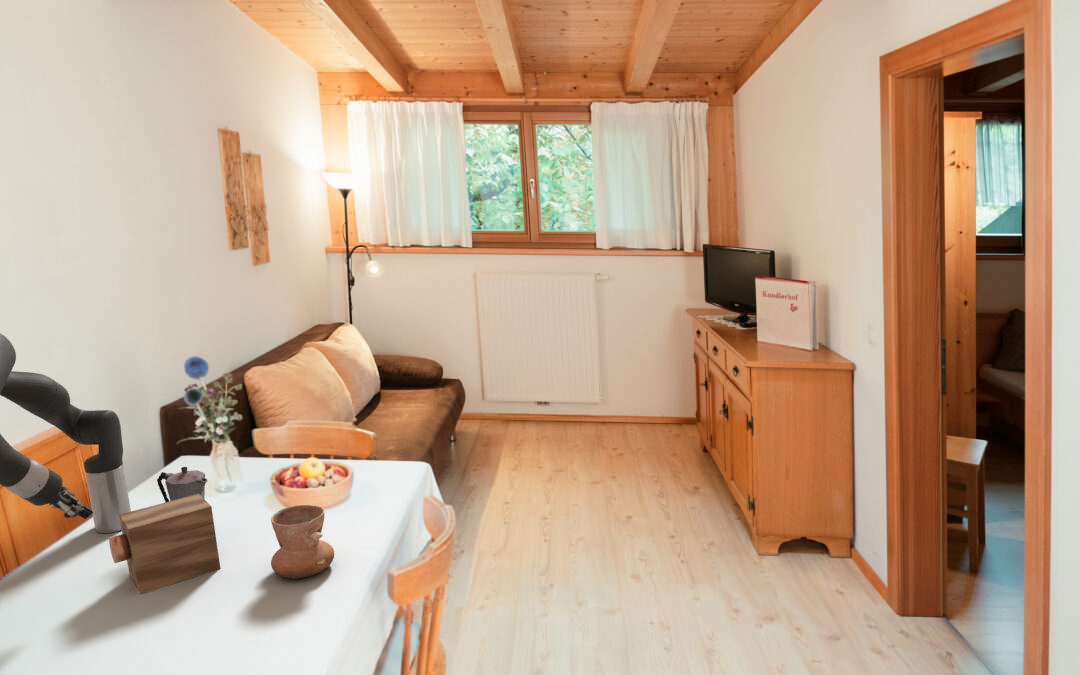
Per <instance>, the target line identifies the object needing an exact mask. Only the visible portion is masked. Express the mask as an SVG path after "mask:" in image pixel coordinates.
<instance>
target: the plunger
mask: <svg viewBox="0 0 1080 675" xmlns="http://www.w3.org/2000/svg"><path fill="white" fill-rule="evenodd" d="M108 543H109V549H110V553H111V557H112V560H113V563H114V564H117V563H122V562H125V561H127V560H129V559H130V549H129V543H128V541H127V539H126V536H125V534H122V533H121V534H117V535H114V536H111V537H108Z"/></svg>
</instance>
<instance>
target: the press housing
mask: <svg viewBox="0 0 1080 675" xmlns="http://www.w3.org/2000/svg"><path fill="white" fill-rule="evenodd" d="M212 507H213V506H212V505H211V504H210V503H209V502H208V501H207V500H206V499H205V497H204V498H203V497H202V496H201V495H200V494H195V495H192V496H188V497H184V498H180V499H177V500H173V501H170V500H169V502H165V501H164V502H163V503H159V504H154V505H151V506H148V507H142V508H140V509H136V510H132V511H131V512H128V513H124V514H120V515H119V517H120V523H121V529H122V530H121V534H125V536H126V539H127V541H128V543H129V549H130V559H129V560H126V562H127V563H126V564H127V568H128V575H129V579H130V580H131V582H132V584H133V586H134V587H135V588H136V590H137V592H138V594H139V595H142V594H146V593H148V592H152V591H155V590H157V589H161V587H162V588H165V587H168V586H171V585H173V584H177V583H179V581H180V582H183V581H186V580H189V579H191V578H195V576H196V577H198V575H199V576H202V575H205V574H208V573H211V572H214V571H216V570H220V569H221V563H220V556H219V549H218V542H217V537H216V536H217V535H216V529H215V527H216V526H215V522H214V521H215V520H214V515H213V509H212ZM201 574H202V575H201ZM182 580H183V581H182ZM176 582H177V583H176Z"/></svg>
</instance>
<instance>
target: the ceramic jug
mask: <svg viewBox="0 0 1080 675" xmlns="http://www.w3.org/2000/svg"><path fill="white" fill-rule="evenodd" d="M270 522H271V525H272V529H273V531H274V533H275V538H276V541H277V542H278V545H279V547H280V548H279V549H278V550H277V551H276V552H275V553H274V554H273V555H272V557H271V560H270V566H271V569H272V570H273V572H274V573H275V574H276V575H278V576H280V577H283V578H287V579H304V578H307V577H312V576H315V575H317V574H320V573H321V572H323V571H324V570H326V569H327V568H329V567H330V565H331V564H332V562H333V561H334V558H335V550H334V548H333V546H332V545H331V544H330V543H328V542H326V541H324V540H322V539H321V538H322V537H323V536H324V535H323V533H322V531H323V527H324V522H325V509H324V508H323V507H322V506H319V505H312V504H300V505H292V506H289V507H288V506H287V507H284V508H282V509H279V510H278V511H276V512H274V513H273V514H272V516H271V517H270Z"/></svg>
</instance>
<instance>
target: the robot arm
mask: <svg viewBox="0 0 1080 675" xmlns="http://www.w3.org/2000/svg"><path fill="white" fill-rule="evenodd" d="M16 360H17V354H16V348H14V345H13V343H12V342H11V341H10V340H9V339H8V338H7V337H6V336H5V335H4V334H3V333H1V332H0V396H1V397H3V398H5V399H7V400H8V401H10V402H12V403H14V404H15V405H18V407H20V408H22V409H23V410H25V411H27V412H29V413H31V414H32V415H34V416H36V417H38V418H40V419H42V420H43V421H45V422H47V423H49V424H50V425H52V426H54V427H56V428H57V429H59V430H60V431H61V432H62V433H64V434H65V435H66V436H67V437H68V438H70V440H72V441H74V442H75V443H77V444H79V445H86V446H96V445H97V446H98V449H97V451H98V452H97V453H96V454H95V455H92V456H89V457H88V458H87V459H85V460H84V461H83V462H84V463H83V468H84V473H85V479H86V484H87V489H88V495H89V501H90V506H91V507H89V506H87V505H86V504H84V503H83V502H81V501H80V499H79V498H77V497H76V495H75V494H74V493H73V492H72V491H70V490H69V489H68V488H67V487H66V486H65V485H64V484H63V478H62V476H61V475H60V474H59V473H57V472H55V471H53V470H51V469H50V468H48V467H47V466H45V465H44V464H42V463H41V462H39V461H38V460H35V459H32V458H30V457H28V456H26V455H24V454H23V453H21V452H20V451H18V450H16V449H15V448H13V446H11V444H10V443H9V442H8V441H7V440H6V439H5V438H4V436H3V435H2V433H0V486H1V487H4V488H5V489H6V490H7V491H9V492H11V494H13V495H16V496H17V497H19V498H20V499H22V500H25V501H26V502H28V503H30V504H32V505H34V506H39V507H42V506H45V505H49V506H50V507H52V508H53V509H58V510H60V511H62V512H63V517H64V518H65V519H73V518H76V517H78V516H79V517H81V518H83V519H85V520H86V519H88V518H89V517H90V516H91V515H92V516H93V517H92V518H93V524H94V530H95V532H96V533H99V534H109V533H115V532H119V531H122V529H121V523H120V517H119V515H120V514H124V513H128V512H132V511H131V510H132V509H131V504H130V498H129V492H128V485H127V480H126V473H125V468H124V461H123V456H124V446H123V438H122V437H123V436H122V428H121V422H120V417H119V416H118V414H117V413H116V412H115V411H113V410H111V409H110V410H109V409H108V410H105V409H103V410H101V409H100V410H99V409H96V410H86V409H85V410H84V409H81V408H78V407H76V406H75V405H73V404H71V397H70V394H69V392H68V390H67V389H66V388H65V387H64V386H63V385H62V384H60V383H59V382H58V381H56V380H54V379H53V378H51V377H50V376H47V375H45V374H42V373H37V372H29V371H14V370H13V368H14V367H15V364H16Z"/></svg>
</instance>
